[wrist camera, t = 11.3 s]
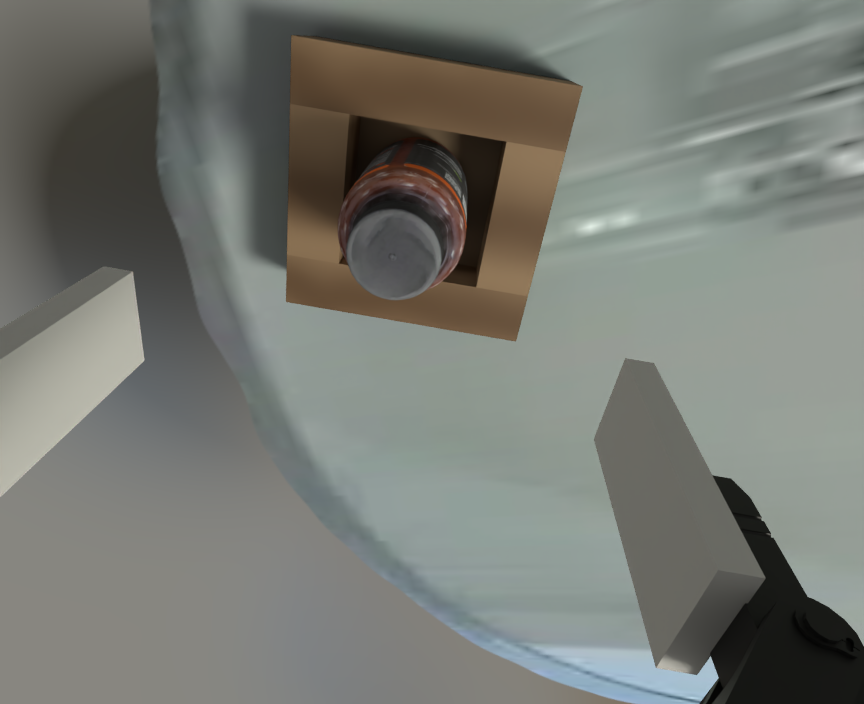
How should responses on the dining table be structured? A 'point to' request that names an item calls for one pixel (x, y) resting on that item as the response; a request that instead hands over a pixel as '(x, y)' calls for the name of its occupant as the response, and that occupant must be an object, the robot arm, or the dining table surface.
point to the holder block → (454, 129)
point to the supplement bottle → (405, 219)
